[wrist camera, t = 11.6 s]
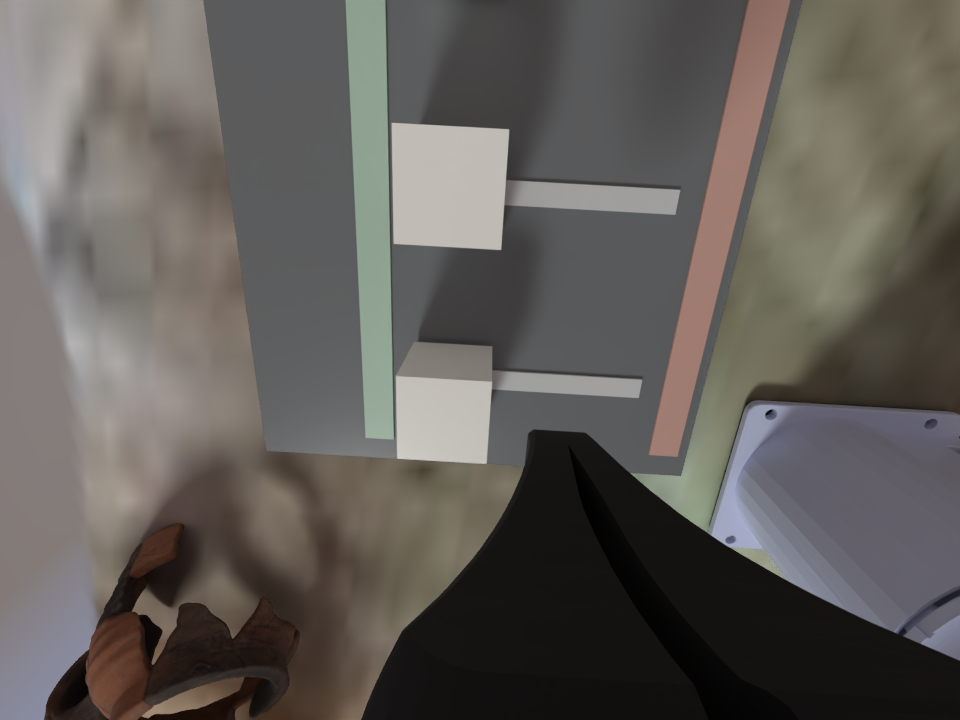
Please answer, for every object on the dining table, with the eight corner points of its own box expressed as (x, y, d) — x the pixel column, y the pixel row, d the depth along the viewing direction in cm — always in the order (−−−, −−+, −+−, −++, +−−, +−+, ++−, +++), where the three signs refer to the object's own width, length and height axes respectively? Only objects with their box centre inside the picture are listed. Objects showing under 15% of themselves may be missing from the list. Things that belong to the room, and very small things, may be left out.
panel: (812, -187, 13) (869, -255, 11) (664, 450, 21) (681, 477, 19) (210, -217, 13) (160, -289, 11) (286, 427, 21) (264, 451, 19)
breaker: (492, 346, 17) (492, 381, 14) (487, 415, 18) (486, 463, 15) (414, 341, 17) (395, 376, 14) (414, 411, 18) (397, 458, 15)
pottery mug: (213, 480, 23) (207, 643, 17) (323, 541, 30) (346, 673, 24) (7, 611, 22) (-73, 826, 16) (166, 643, 29) (150, 805, 23)
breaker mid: (505, 143, 14) (509, 129, 11) (499, 238, 15) (501, 249, 12) (414, 138, 14) (391, 122, 11) (414, 233, 15) (393, 243, 12)
